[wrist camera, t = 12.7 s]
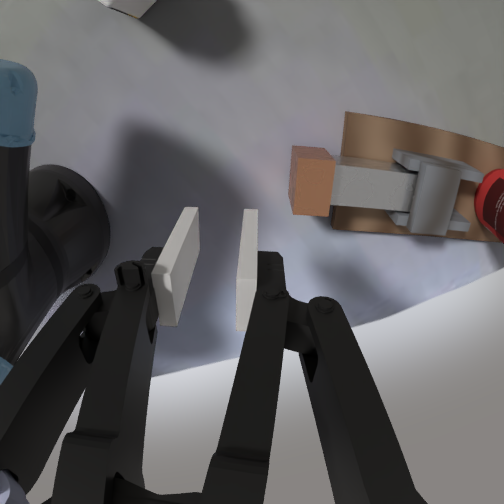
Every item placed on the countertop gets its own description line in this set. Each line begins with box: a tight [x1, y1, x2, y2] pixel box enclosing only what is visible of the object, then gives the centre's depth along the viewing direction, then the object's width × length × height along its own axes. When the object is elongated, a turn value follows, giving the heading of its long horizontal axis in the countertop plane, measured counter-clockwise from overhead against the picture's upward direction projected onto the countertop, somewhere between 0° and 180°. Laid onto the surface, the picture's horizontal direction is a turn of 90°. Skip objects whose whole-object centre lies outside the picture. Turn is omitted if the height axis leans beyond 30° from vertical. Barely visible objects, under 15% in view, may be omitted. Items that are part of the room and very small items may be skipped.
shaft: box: [288, 146, 419, 217], centre depth 27 cm, size 15×5×5 cm, turn 88°
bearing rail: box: [331, 111, 504, 243], centre depth 28 cm, size 26×12×7 cm, turn 88°
